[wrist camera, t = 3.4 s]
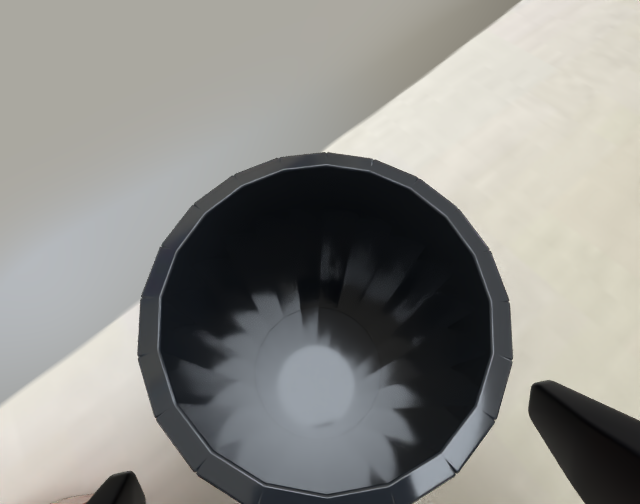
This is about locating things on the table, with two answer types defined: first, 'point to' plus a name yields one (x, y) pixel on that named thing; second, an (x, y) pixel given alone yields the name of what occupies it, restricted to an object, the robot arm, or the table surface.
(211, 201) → the tumbler
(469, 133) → the table surface
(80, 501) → the stack bottom
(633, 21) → the table surface
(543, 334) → the table surface
